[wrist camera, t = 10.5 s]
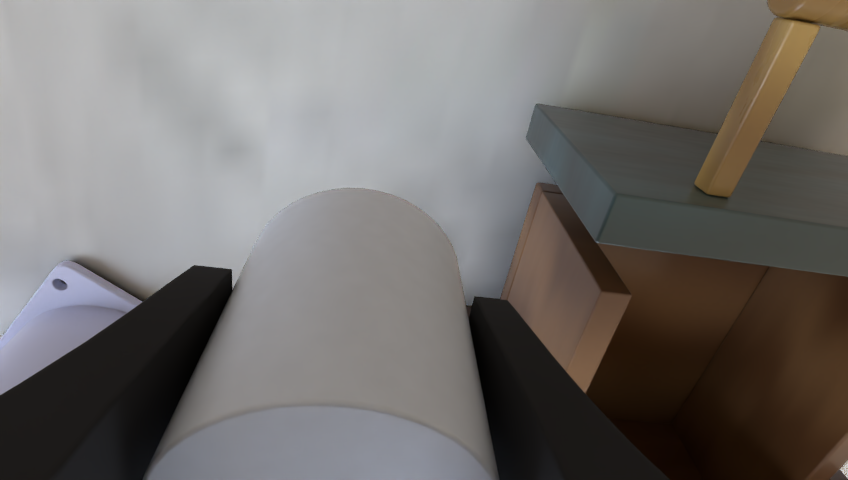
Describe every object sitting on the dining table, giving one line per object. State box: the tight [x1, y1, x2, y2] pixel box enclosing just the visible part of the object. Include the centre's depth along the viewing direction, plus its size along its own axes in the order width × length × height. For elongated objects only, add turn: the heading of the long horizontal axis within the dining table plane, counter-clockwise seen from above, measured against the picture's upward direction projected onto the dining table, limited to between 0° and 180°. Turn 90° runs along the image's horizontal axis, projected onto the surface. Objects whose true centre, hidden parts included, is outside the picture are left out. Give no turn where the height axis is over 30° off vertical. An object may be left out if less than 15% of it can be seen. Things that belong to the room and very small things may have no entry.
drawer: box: [500, 0, 848, 480], centre depth 16 cm, size 18×11×7 cm, turn 170°
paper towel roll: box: [143, 188, 499, 480], centre depth 8 cm, size 4×4×5 cm
